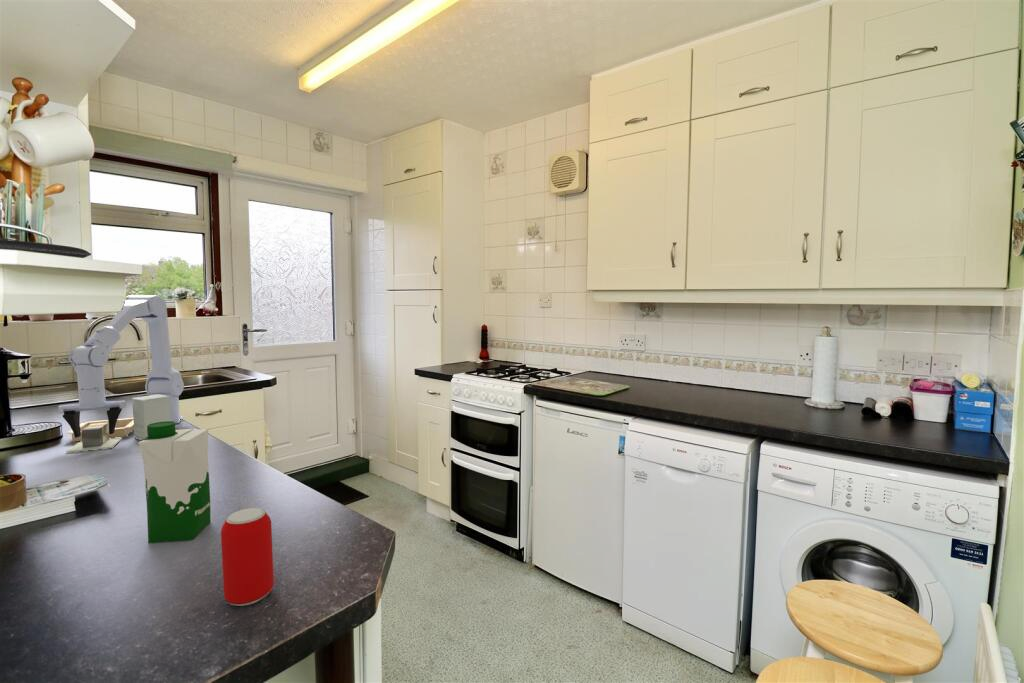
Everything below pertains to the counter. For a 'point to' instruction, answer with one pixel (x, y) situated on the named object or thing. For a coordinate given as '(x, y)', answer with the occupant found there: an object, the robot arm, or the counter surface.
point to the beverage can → (247, 556)
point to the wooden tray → (121, 427)
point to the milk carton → (176, 482)
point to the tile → (107, 444)
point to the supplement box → (149, 412)
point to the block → (95, 435)
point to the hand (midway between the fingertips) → (95, 435)
